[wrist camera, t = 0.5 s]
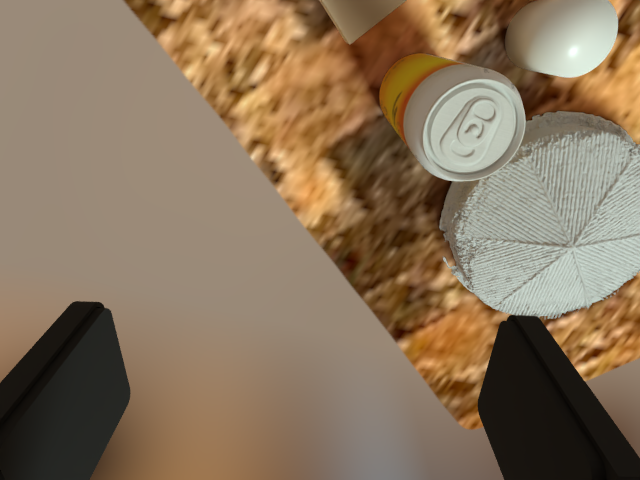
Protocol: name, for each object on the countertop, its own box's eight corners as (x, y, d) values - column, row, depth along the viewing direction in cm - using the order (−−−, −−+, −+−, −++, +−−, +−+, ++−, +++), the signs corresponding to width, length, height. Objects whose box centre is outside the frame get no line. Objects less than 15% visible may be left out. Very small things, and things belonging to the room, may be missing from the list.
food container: (670, 236, 42) (732, 270, 36) (489, 331, 47) (515, 375, 41) (603, 58, 35) (665, 63, 29) (396, 192, 40) (412, 221, 34)
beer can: (365, 112, 36) (394, 162, 23) (399, 39, 33) (454, 48, 20) (428, 140, 37) (490, 204, 24) (465, 71, 35) (558, 100, 21)
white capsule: (554, -16, 32) (602, -25, 26) (578, 43, 34) (628, 46, 28) (494, 27, 33) (528, 28, 28) (520, 82, 35) (557, 92, 30)
